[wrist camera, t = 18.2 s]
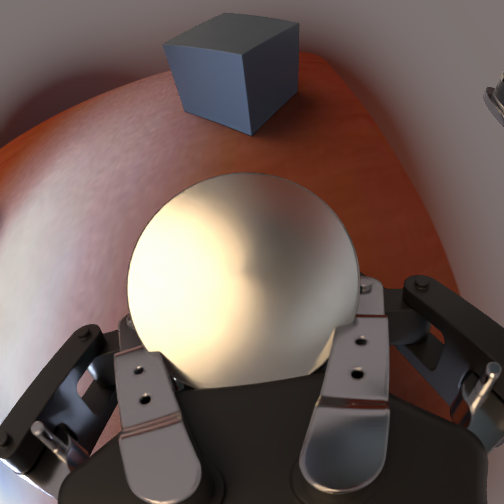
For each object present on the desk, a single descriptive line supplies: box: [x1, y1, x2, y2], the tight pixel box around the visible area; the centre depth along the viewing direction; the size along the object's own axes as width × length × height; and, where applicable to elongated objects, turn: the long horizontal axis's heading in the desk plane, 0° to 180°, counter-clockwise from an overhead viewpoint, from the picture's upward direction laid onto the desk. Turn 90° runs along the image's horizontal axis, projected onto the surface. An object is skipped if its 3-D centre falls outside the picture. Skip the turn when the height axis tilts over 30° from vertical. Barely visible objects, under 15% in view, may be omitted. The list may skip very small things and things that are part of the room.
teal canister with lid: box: [126, 173, 361, 389], centre depth 11 cm, size 6×6×10 cm
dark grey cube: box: [163, 13, 299, 136], centre depth 20 cm, size 8×8×8 cm
